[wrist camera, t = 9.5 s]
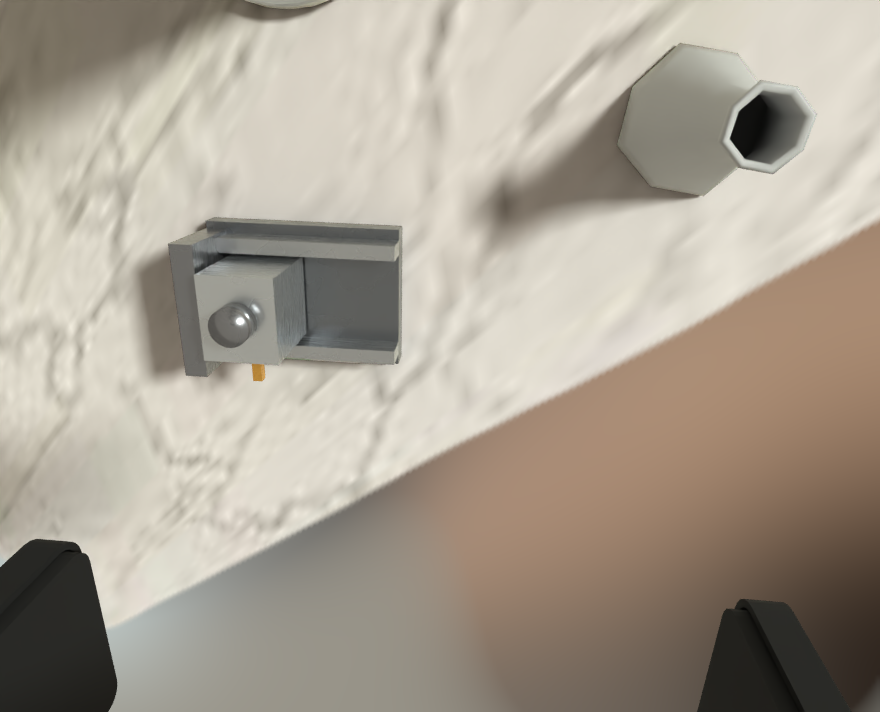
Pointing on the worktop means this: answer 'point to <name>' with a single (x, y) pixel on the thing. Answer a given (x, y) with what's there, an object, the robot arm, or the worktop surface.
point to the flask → (710, 121)
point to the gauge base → (306, 285)
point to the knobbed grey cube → (251, 309)
